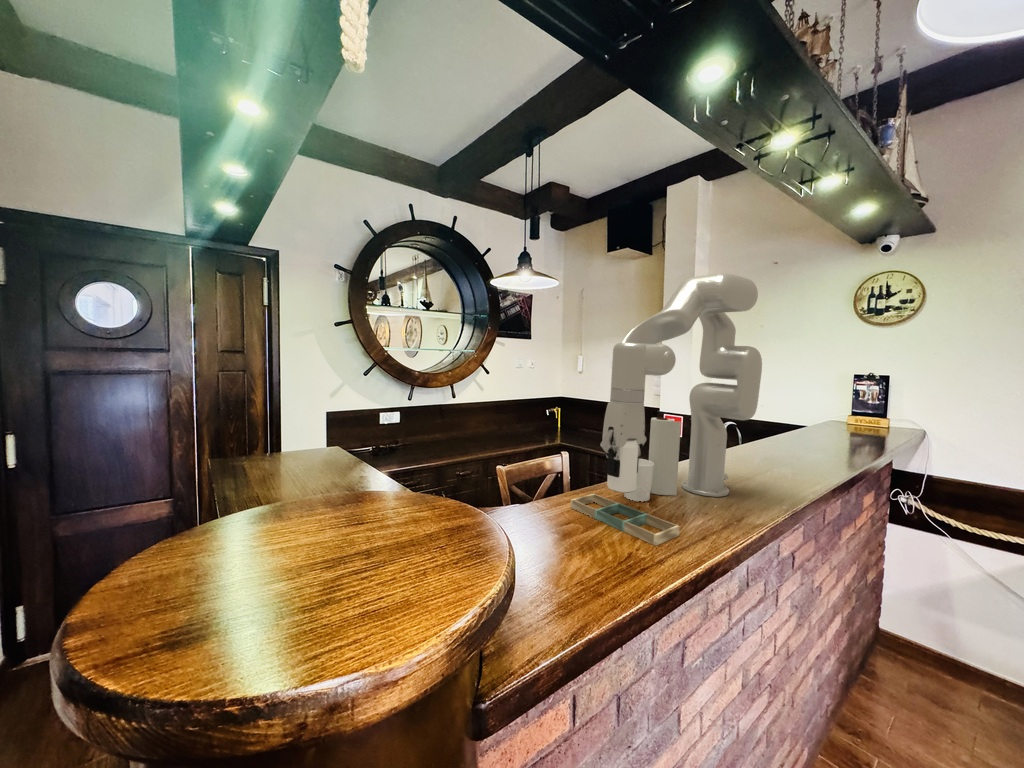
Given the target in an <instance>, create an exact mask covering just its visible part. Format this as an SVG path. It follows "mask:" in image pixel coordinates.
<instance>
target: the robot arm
mask: <svg viewBox="0 0 1024 768" xmlns="http://www.w3.org/2000/svg"><path fill="white" fill-rule="evenodd" d="M758 297H759V291H758V287H757V285H756V283H755V282H754V281H753V280H752V279H750V278H748V277H743V276H739V275H735V274H731V273H714V274H707V275H698V276H697V275H696V276H692V277H688V278H687V279H684V280H683V281H682V282H681V283H680V284H679V286H678V287H677V289H675V292H673V294H672V295H671V296H670V298H669V300H668V301H667V302H666V304H665V305H664V307H663V308H662V310H661V311H659V312H657V313H655V314H654V315H652V316H650V317H649V318H647V319H645V320H644V321H642V322H641V323H639V324H637V325H635V326H634V327H633V328H632V329H631V330H630V331H629V332H627V334H626V335H625V337H624V338H623V339H622V340H621V342H618V343H616V344H614V347H613V349H612V364H611V381H610V397H609V402H607V405H606V408H605V409H606V410H605V413H604V419H603V428H602V441H601V442H600V445H599V446H600V447H601V449H602V450H603V452H604V454H605V456H606V458H607V465H606V466H607V467H606V473H607V476H608V475H610V476H614V477H619V474H620V460H618V459H619V452H620V448H621V447H623V446H624V445H625V443H626V440H636V439H637V440H636V442H637V444H638V460H637V473H638V462H639V459H640V457H641V455H642V454H641V451H642V449H643V448H644V445H645V443H646V442H647V436H646V435H645V433H646V418H645V417H646V416H645V415H646V414H645V413H646V412H645V394H646V393H645V392H646V391H645V390H646V376H658V377H660V376H666V375H667V374H668V373H670V372H671V371H672V370H673V369H674V368H675V365H676V362H677V361H676V360H677V359H676V354H675V352H674V350H673V349H672V348H671V347H670V346H668V345H666V344H663V343H661V342H664V341H668V340H671V339H674V338H678V337H679V336H683V335H685V334H687V333H688V332H689V331H690V330H691V329H692V328H693V326H694V325H695V323H696V321H697V320H698V318H699V321H700V322H701V325H702V339H701V348H700V356H699V371H700V374H701V375H702V376H704V377H706V378H709V379H710V378H711V379H718V380H732V381H736V384H729V383H718V382H702V383H698V384H696V385H694V386H693V387H692V389H691V390H690V392H689V397H688V398H689V399H688V400H689V409H690V414H691V415H690V417H691V422H690V423H691V425H690V442H689V444H690V445H689V454H688V455H689V458H688V459H689V460H688V472H687V473H688V475H687V480H684V481H682V482H681V488H682V489H684V490H685V491H687V492H689V493H693V494H695V495H698V496H703V497H704V496H705V497H716V498H718V497H726V496H728V495H730V489H729V487H727V486H726V485H724V483H725V481H726V480H728V479H729V475H728V474H727V473H725V469H726V455H727V440H728V432H727V428H726V425H725V423H724V421H722V419H723V418H725V419H729V420H730V419H731V420H736V421H737V420H739V421H748V420H750V419H752V418H754V416H755V414H756V412H757V409H758V403H759V397H760V389H761V379H762V371H763V359H762V355H761V353H760V350H758V349H757V348H755V347H753V346H751V345H750V346H749V345H735V342H736V332H737V330H736V326H735V323H734V321H732V319H731V318H730V316H729V315H728V314H727V313H739V312H747V311H750V310H751V309H752V308H753V307H754V306H755V305H756V303H757V301H758ZM721 418H722V419H721ZM613 441H614V442H616V445H613V444H612V442H613ZM612 447H614V448H616V451H615V452H614V450H613V449H612Z"/></svg>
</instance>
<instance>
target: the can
mask: <svg viewBox="0 0 1024 768" xmlns="http://www.w3.org/2000/svg"><path fill="white" fill-rule="evenodd" d="M636 440H637V439H636ZM636 440H626V443H625V445H624V446H623V447H621V448H620V452H619V459H618V460H620V474H619V477H614V476H610V475H608V474H607V480H606V481H607V488H608V489H609V490H611V491H613V492H615V493H616V492H617V493H622V494H624V493H631V492H633V491H634V490H635V489H636V478H637V460H638V457H639V456H638V444H637V442H636ZM612 444H613V445H616V442H614V441H613V442H612ZM612 449H613V450H614V452H615V451H616V448H614V447H612Z"/></svg>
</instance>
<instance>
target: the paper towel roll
mask: <svg viewBox="0 0 1024 768" xmlns="http://www.w3.org/2000/svg"><path fill="white" fill-rule="evenodd" d="M681 424H682V421H678V420H677V421H676V420H674V419H672V418H669V417H668V418H666V417H651V419H650V429H649V430H650V432H649V446H648V447H649V449H648V460H649V461H651V462H653V463H654V468H653V478H652V486H651V490H650V494H654V495H658V496H659V495H661V496H677V494H678V493H677V492H678V478H679V477H678V476H679V475H678V474H679V459H680V457H679V456H680V442H681V429H682V428H681Z"/></svg>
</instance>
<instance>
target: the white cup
mask: <svg viewBox="0 0 1024 768" xmlns="http://www.w3.org/2000/svg"><path fill="white" fill-rule="evenodd" d="M653 468H654V463H653V462H651V461H649V459H644V458H639V462H638V473H637V478H636V489H635V490H634V491H633V492H631V493H623V494H624V495H623V497H624V498H625V497H626V498H625V499H626V500H629V499H630V501H632V500H633V501H632V502H639V501H641V502H644V501H645V502H648V501H650V498H651V493H650V490H651V486H652V478H653ZM641 502H640V503H641Z"/></svg>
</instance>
